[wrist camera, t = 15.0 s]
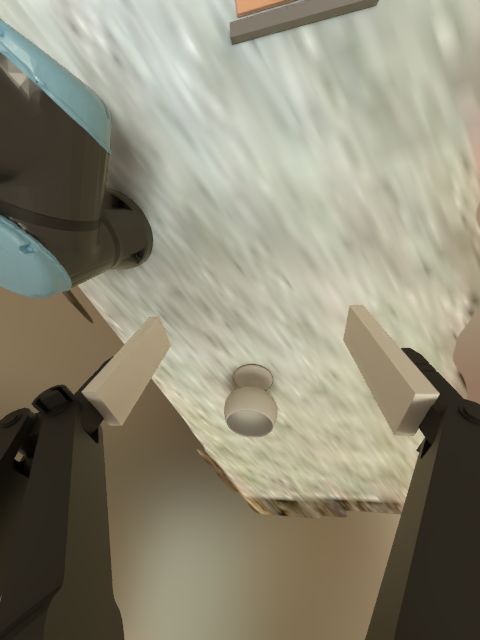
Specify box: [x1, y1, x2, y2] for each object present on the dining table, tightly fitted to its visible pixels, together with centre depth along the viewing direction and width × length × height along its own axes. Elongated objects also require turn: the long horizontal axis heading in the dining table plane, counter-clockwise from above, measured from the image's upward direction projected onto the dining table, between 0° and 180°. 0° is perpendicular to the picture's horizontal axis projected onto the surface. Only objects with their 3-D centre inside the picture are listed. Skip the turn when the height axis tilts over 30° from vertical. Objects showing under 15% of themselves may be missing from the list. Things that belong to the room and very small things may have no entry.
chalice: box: [224, 365, 277, 438], centre depth 56 cm, size 14×14×15 cm
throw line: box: [230, 0, 379, 44], centre depth 25 cm, size 18×1×2 cm, turn 97°
